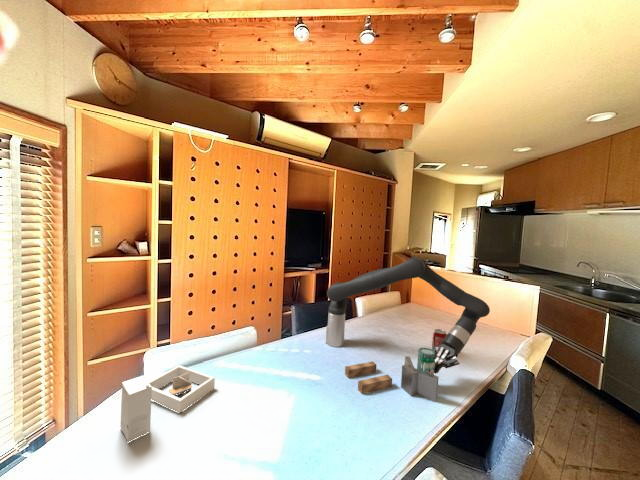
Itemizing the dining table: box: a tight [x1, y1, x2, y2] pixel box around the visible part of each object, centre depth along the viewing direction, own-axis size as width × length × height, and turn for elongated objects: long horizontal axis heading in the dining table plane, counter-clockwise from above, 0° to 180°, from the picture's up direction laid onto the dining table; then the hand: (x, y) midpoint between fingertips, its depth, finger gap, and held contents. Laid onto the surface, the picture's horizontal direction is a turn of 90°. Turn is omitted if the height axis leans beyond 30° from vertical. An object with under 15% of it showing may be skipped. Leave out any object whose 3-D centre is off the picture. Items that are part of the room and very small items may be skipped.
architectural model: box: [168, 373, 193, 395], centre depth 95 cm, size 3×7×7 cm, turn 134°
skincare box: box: [119, 375, 152, 443], centre depth 78 cm, size 8×6×15 cm
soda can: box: [431, 328, 448, 353], centre depth 135 cm, size 7×7×12 cm
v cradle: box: [400, 355, 439, 403], centre depth 104 cm, size 8×18×9 cm, turn 22°
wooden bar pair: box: [344, 360, 393, 395], centre depth 109 cm, size 14×14×4 cm
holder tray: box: [148, 364, 216, 413], centre depth 97 cm, size 19×15×4 cm
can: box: [416, 347, 435, 375], centre depth 106 cm, size 6×6×15 cm
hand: (433, 371), depth 107 cm, fingers closed
